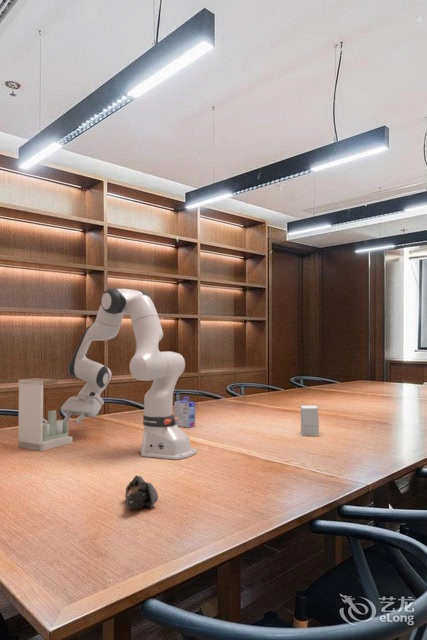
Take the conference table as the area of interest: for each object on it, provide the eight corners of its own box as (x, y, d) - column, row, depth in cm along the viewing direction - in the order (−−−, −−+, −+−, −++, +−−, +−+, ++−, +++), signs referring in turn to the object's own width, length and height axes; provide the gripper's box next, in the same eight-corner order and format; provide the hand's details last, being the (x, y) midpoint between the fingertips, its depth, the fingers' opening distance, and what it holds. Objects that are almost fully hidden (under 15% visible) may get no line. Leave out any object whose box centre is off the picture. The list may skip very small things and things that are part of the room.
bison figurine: (138, 496, 132) (106, 503, 126) (139, 471, 133) (107, 477, 126) (162, 508, 123) (129, 517, 117) (163, 482, 124) (131, 488, 117)
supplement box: (317, 432, 213) (316, 405, 214) (319, 436, 206) (318, 408, 206) (300, 432, 214) (300, 405, 214) (302, 436, 207) (301, 407, 207)
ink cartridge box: (196, 426, 230) (195, 397, 230) (188, 428, 225) (188, 398, 226) (181, 424, 236) (180, 395, 236) (173, 425, 231) (173, 396, 232)
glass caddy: (68, 435, 199) (68, 409, 200) (44, 441, 189) (44, 413, 190) (59, 433, 203) (59, 408, 203) (35, 439, 192) (35, 412, 193)
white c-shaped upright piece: (72, 442, 196) (72, 378, 197) (40, 451, 183) (40, 381, 183) (50, 439, 204) (51, 376, 204) (18, 446, 190) (18, 379, 191)
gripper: (68, 391, 217) (51, 415, 208) (99, 394, 206) (82, 419, 197) (76, 399, 220) (59, 423, 212) (107, 402, 209) (90, 428, 201)
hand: (70, 421), depth 204 cm, fingers open, 5 cm apart
